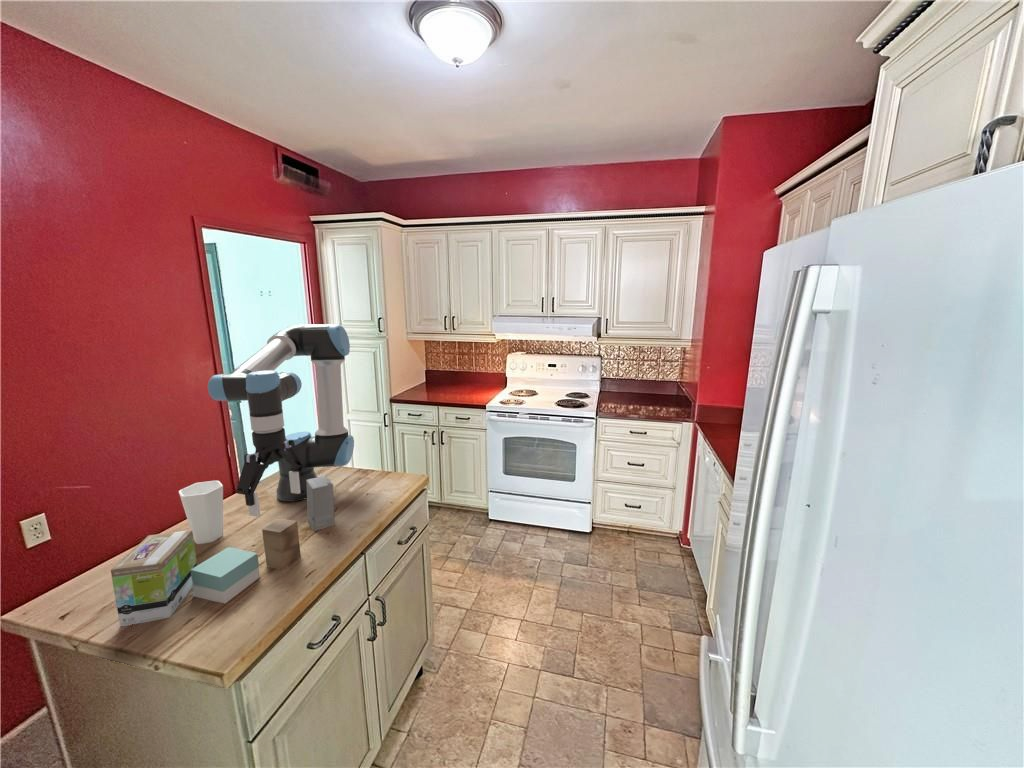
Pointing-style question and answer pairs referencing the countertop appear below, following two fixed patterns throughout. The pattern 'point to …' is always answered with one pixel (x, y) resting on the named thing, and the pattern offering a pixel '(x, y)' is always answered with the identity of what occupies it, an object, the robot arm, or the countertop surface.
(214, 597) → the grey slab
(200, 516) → the cup
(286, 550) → the walnut block
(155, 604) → the tea box
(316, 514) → the skincare box
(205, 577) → the teal slab
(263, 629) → the countertop surface
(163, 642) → the countertop surface
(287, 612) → the countertop surface
